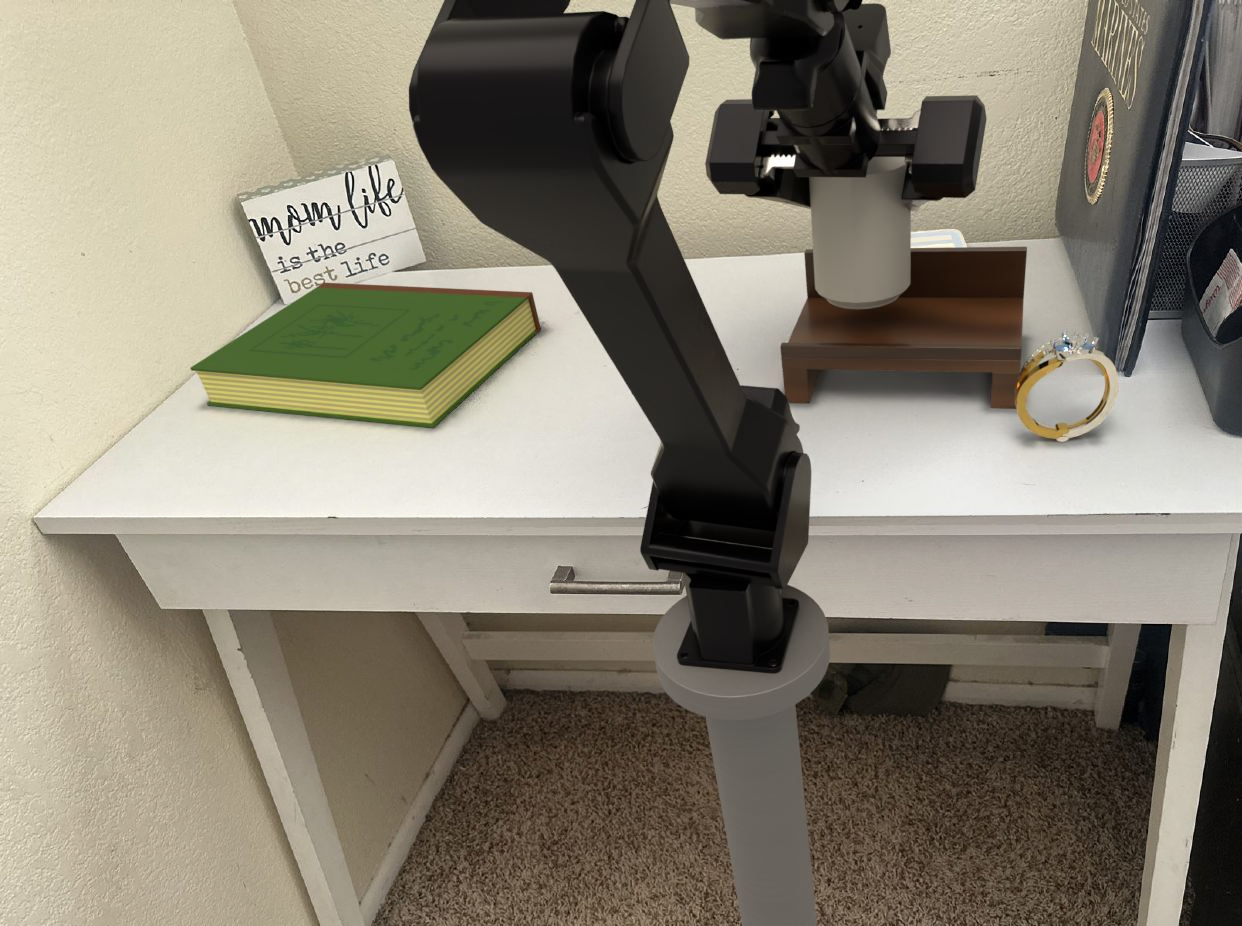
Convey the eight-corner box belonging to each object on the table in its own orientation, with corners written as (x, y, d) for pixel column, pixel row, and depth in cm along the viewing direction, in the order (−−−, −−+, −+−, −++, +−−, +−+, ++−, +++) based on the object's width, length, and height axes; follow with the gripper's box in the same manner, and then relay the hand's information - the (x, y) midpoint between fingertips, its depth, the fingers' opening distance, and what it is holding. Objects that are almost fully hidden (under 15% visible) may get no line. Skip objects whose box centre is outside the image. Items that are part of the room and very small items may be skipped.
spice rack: (1017, 408, 77) (1024, 309, 72) (784, 402, 81) (776, 309, 77) (1020, 338, 86) (1027, 246, 81) (811, 336, 91) (805, 249, 86)
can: (916, 276, 82) (917, 120, 75) (904, 314, 77) (904, 149, 70) (825, 276, 84) (817, 123, 77) (806, 313, 79) (797, 152, 72)
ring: (1106, 424, 74) (1120, 322, 69) (1116, 448, 71) (1130, 343, 67) (1008, 429, 75) (1015, 328, 70) (1014, 452, 72) (1021, 349, 67)
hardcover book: (541, 329, 98) (532, 292, 96) (433, 428, 84) (420, 387, 82) (330, 316, 106) (318, 282, 104) (201, 404, 92) (183, 367, 90)
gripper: (988, -45, 61) (1006, 104, 75) (700, -27, 67) (768, 107, 82) (960, 130, 60) (983, 247, 74) (669, 132, 66) (744, 239, 80)
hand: (865, 204), depth 78 cm, fingers closed on can, 7 cm apart
